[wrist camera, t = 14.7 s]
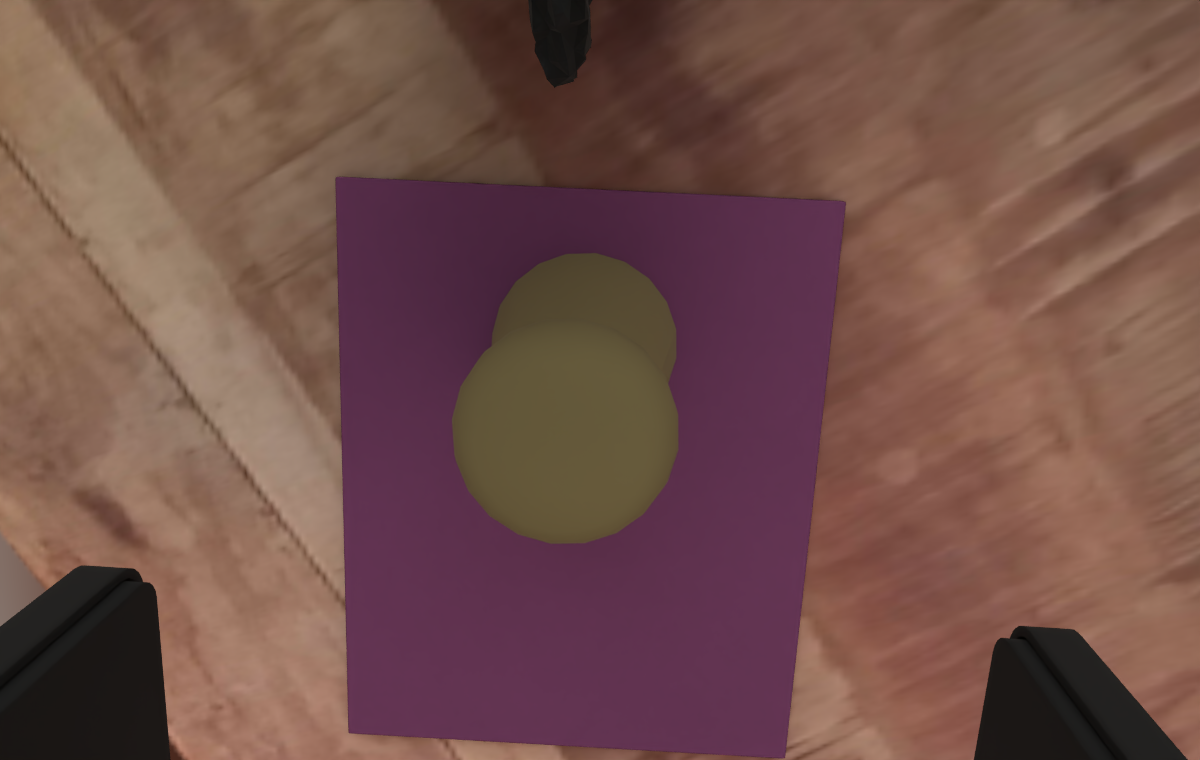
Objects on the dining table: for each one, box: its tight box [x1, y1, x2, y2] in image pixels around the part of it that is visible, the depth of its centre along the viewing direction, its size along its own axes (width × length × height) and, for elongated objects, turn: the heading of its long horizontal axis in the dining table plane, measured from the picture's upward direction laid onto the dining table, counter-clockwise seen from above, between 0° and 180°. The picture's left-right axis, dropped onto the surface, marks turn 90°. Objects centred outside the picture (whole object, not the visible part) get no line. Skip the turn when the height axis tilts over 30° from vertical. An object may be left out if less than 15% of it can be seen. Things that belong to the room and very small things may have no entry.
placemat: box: [336, 177, 846, 758], centre depth 32 cm, size 20×16×1 cm
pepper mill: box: [452, 253, 678, 544], centre depth 25 cm, size 6×6×11 cm
